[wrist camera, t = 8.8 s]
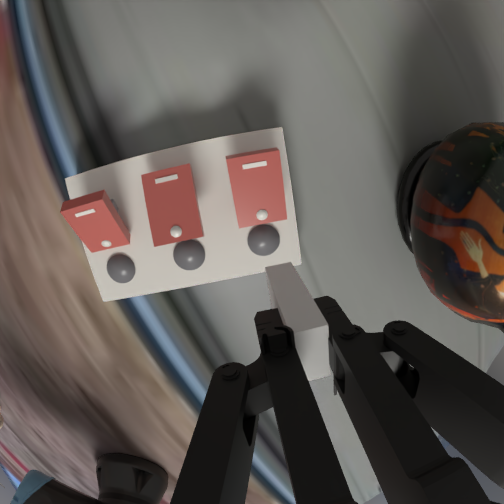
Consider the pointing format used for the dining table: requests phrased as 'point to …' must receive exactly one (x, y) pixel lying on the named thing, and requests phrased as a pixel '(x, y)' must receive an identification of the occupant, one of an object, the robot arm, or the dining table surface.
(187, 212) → the rocker
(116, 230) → the rocker
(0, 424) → the teacup with lid
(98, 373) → the dining table surface
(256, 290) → the dining table surface
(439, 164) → the amphora vase
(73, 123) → the dining table surface
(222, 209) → the power strip
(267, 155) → the rocker
